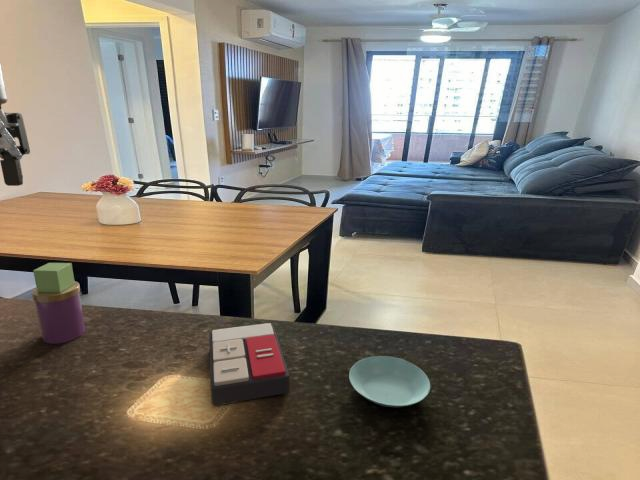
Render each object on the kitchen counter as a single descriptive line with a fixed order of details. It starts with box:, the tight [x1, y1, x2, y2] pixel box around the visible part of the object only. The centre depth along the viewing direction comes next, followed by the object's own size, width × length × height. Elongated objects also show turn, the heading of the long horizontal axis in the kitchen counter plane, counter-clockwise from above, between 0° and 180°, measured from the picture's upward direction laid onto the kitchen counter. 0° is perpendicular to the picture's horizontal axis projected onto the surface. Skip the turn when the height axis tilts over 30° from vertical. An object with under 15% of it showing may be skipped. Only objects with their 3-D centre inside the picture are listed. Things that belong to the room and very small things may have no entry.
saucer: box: [348, 355, 431, 408], centre depth 57 cm, size 12×12×2 cm
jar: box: [31, 280, 86, 345], centre depth 68 cm, size 7×7×9 cm
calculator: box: [208, 322, 290, 406], centre depth 60 cm, size 11×4×15 cm
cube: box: [32, 262, 75, 293], centre depth 67 cm, size 4×4×4 cm
